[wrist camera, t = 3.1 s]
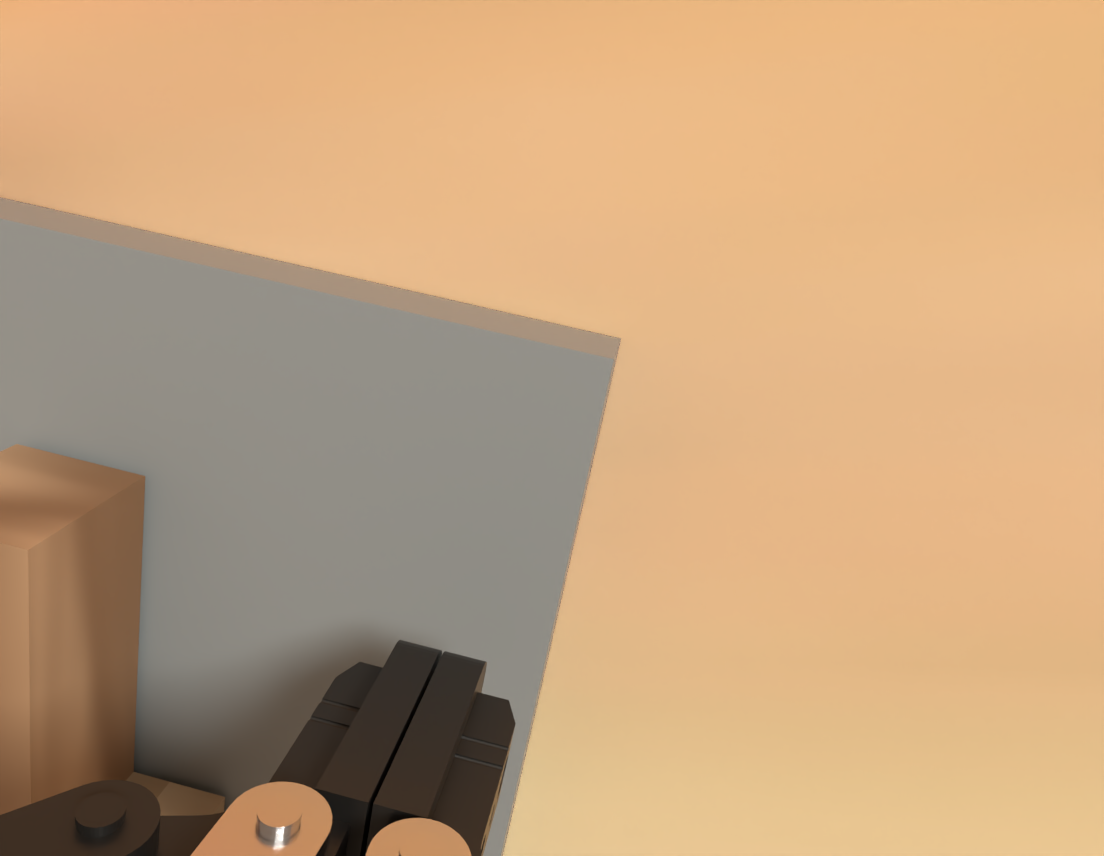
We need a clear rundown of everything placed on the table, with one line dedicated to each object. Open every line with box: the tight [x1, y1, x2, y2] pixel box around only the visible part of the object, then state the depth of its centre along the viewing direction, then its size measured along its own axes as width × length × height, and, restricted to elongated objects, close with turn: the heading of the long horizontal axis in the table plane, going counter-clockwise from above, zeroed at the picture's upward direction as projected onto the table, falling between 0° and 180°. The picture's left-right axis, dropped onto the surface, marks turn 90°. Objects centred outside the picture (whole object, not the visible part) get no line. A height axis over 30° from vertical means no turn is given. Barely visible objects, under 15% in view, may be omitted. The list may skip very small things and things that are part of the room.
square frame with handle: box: [0, 444, 225, 816], centre depth 17 cm, size 6×13×3 cm, turn 169°
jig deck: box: [0, 197, 621, 856], centre depth 20 cm, size 18×28×2 cm, turn 169°
